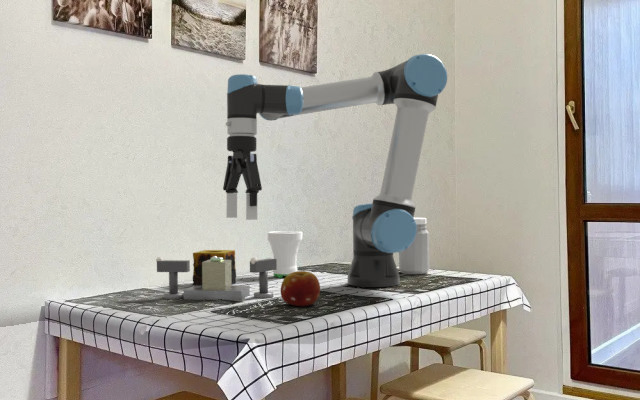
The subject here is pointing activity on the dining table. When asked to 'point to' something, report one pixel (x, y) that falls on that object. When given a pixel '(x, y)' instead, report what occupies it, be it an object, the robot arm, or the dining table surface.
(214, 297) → the level base
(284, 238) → the cup
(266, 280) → the knob
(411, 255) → the jar
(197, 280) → the candle
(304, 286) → the fruit
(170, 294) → the knob
